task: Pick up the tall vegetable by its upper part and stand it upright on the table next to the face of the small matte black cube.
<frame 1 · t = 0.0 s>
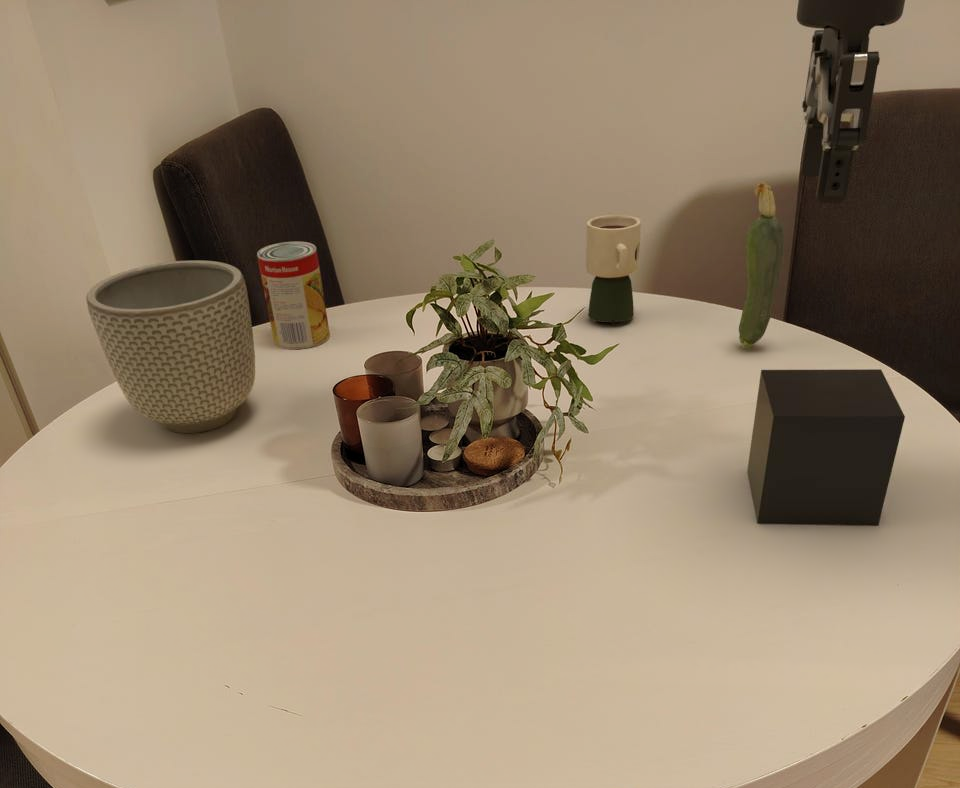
hand: (821, 188, 78), 28 cm above the table, tool pointing down, fingers open, 8 cm apart
planter: (200, 419, 115), on the table
canned food: (302, 339, 133), on the table
character mug: (610, 321, 132), on the table
matte black cube: (809, 497, 93), on the table
vegetable: (750, 351, 122), on the table
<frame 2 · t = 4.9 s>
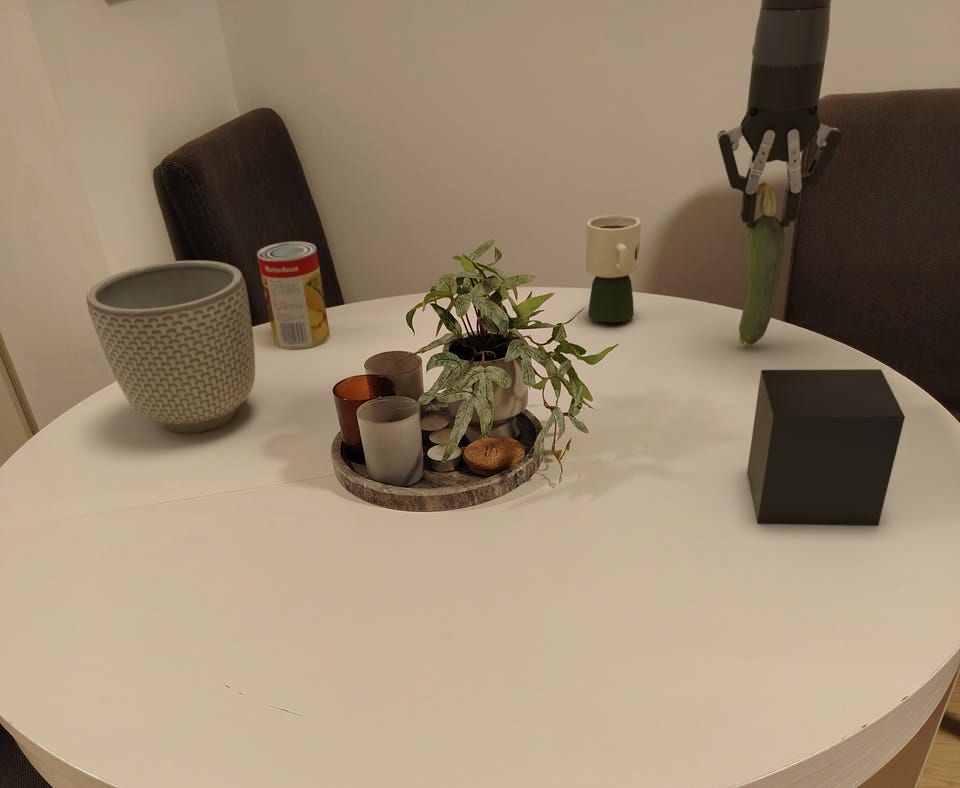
hand: (767, 224, 112), 15 cm above the table, tool pointing down, fingers closed on vegetable, 3 cm apart
vegetable: (750, 351, 122), on the table, touching gripper
everything else where it was.
when the fingers open (15 cm above the table, at t = 14.9 s): vegetable stays where it is, on the table.
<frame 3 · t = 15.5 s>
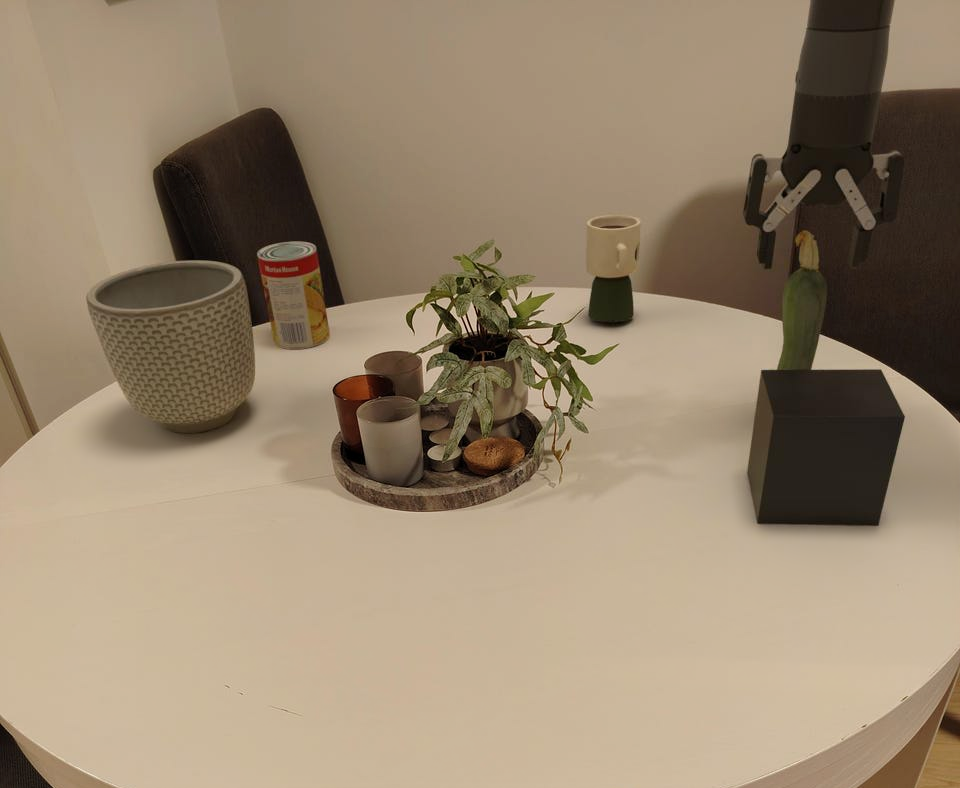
hand: (809, 266, 96), 16 cm above the table, tool pointing down, fingers open, 8 cm apart
vegetable: (783, 417, 107), on the table
everything else where it was.
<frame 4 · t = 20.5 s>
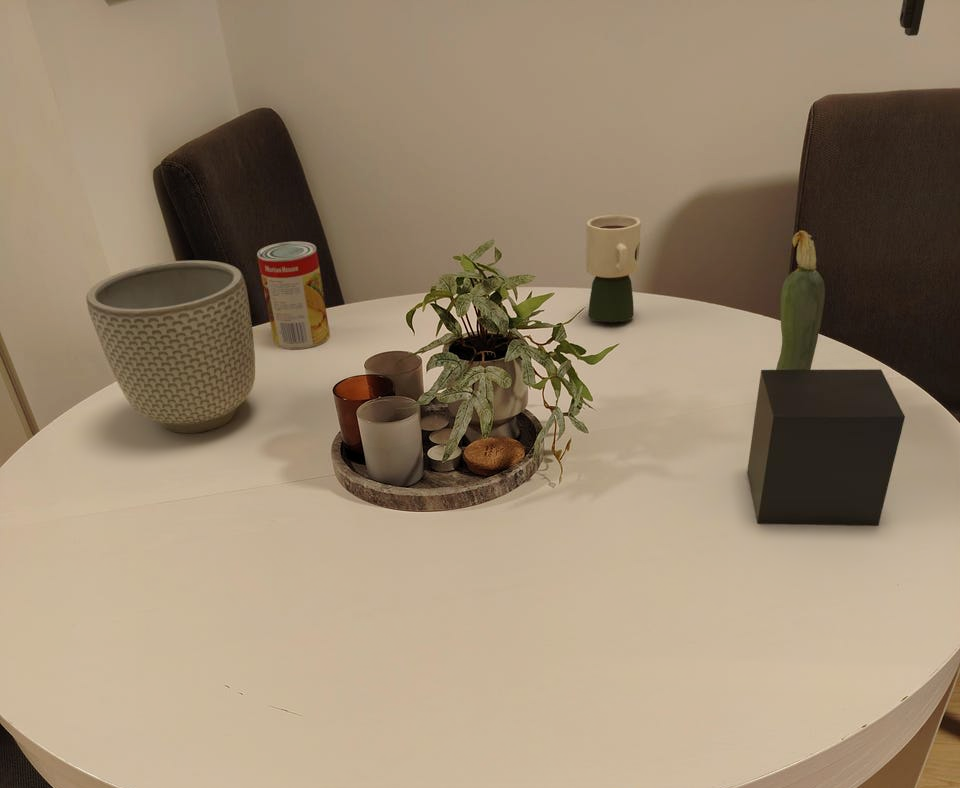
nothing on the table moved.
at the end: vegetable inside the target area on the table beside the matte black cube (0.4 cm from its centre), on the table; vegetable tilted 0°; the gripper is holding nothing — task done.
